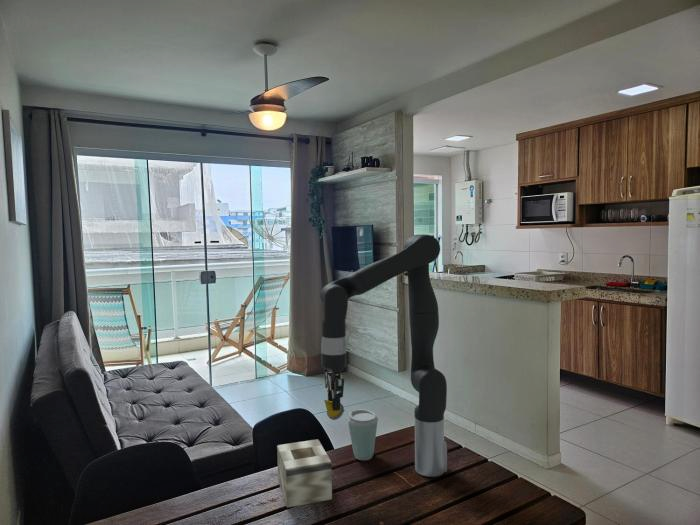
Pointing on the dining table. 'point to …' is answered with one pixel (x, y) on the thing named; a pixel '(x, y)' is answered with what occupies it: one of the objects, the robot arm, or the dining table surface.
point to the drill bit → (331, 412)
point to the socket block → (304, 473)
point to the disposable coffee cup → (362, 432)
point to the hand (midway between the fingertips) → (333, 406)
